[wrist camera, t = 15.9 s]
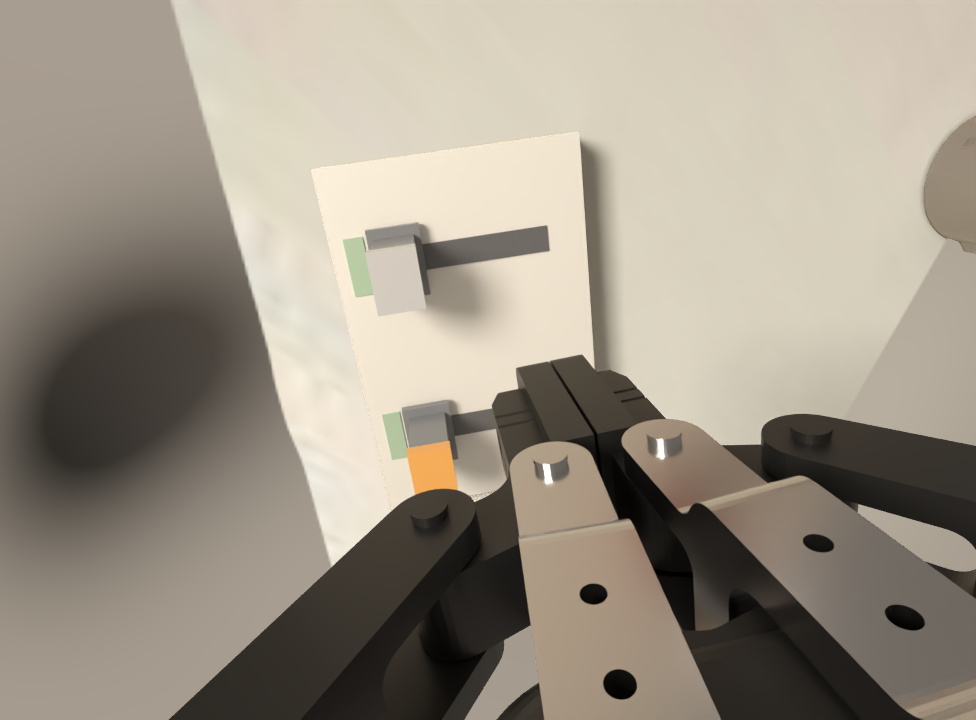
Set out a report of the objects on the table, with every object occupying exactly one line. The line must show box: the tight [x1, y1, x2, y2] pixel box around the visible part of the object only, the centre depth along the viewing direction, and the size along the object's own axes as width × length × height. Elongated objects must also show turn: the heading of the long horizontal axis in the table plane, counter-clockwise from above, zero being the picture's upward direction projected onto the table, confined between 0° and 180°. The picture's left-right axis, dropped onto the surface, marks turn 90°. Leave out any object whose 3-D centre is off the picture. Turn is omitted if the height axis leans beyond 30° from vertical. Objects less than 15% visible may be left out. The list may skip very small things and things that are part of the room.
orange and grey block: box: [402, 400, 458, 495], centre depth 36 cm, size 4×3×6 cm
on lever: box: [365, 222, 431, 316], centre depth 32 cm, size 4×3×6 cm
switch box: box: [311, 131, 595, 510], centre depth 39 cm, size 24×16×3 cm, turn 8°
